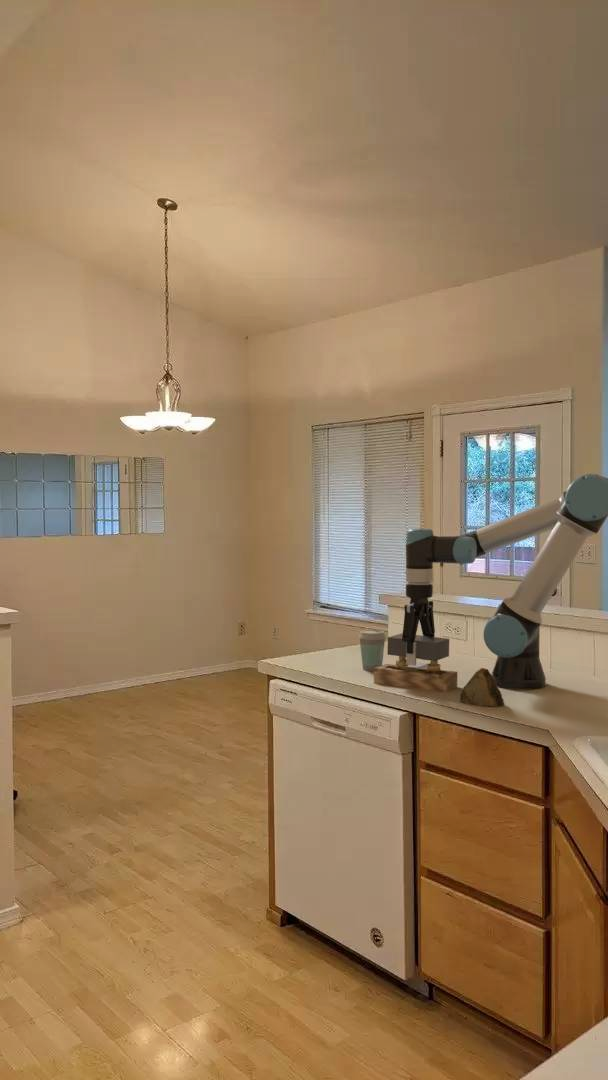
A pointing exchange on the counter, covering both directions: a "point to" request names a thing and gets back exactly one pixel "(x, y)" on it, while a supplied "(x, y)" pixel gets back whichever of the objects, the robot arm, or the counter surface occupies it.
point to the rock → (482, 690)
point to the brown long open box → (415, 677)
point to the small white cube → (420, 665)
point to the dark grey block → (420, 650)
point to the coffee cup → (372, 648)
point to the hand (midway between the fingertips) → (418, 662)
